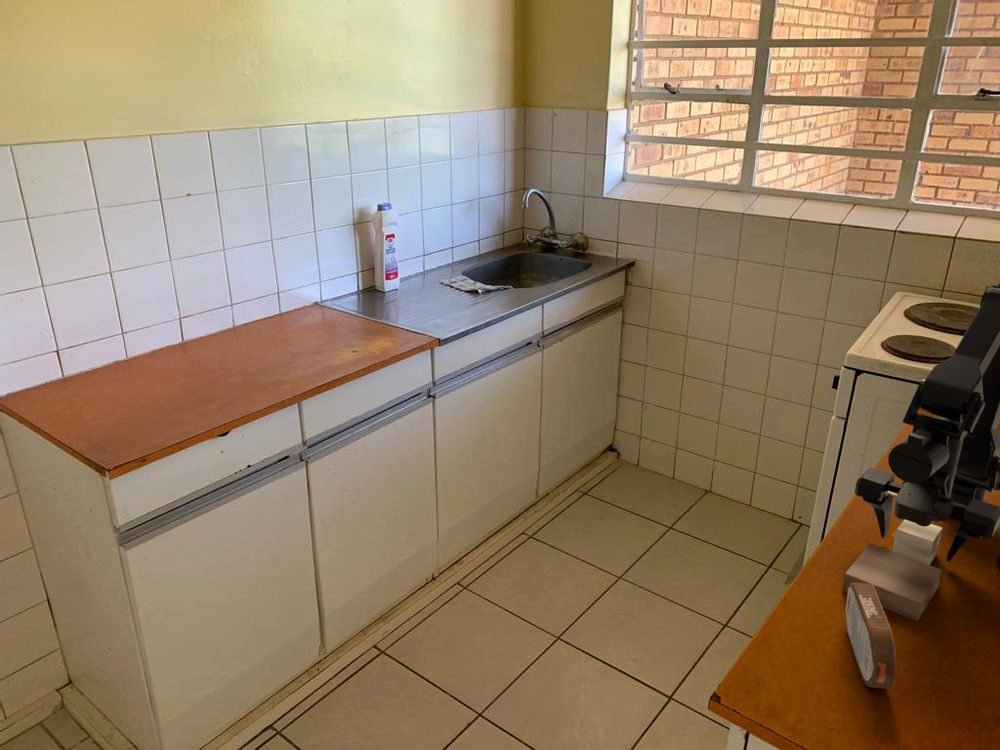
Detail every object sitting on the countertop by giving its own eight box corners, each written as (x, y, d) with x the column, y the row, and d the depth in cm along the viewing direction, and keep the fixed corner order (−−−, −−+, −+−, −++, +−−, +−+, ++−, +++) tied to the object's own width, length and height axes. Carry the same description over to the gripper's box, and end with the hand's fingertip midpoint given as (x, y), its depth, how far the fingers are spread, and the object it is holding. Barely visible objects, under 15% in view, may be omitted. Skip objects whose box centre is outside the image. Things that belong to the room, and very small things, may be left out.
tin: (892, 705, 89) (905, 648, 86) (863, 701, 89) (875, 645, 86) (862, 621, 103) (872, 569, 99) (837, 618, 103) (846, 567, 100)
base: (866, 559, 115) (869, 543, 114) (938, 587, 109) (942, 569, 108) (842, 590, 109) (845, 573, 107) (917, 621, 102) (921, 603, 101)
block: (901, 543, 119) (907, 515, 118) (936, 555, 116) (942, 527, 114) (891, 556, 116) (896, 529, 114) (926, 569, 113) (932, 541, 111)
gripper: (849, 458, 110) (833, 547, 116) (995, 502, 99) (970, 599, 104) (875, 433, 118) (859, 518, 124) (1014, 471, 106) (989, 563, 112)
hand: (915, 548), depth 116 cm, fingers open, 9 cm apart
